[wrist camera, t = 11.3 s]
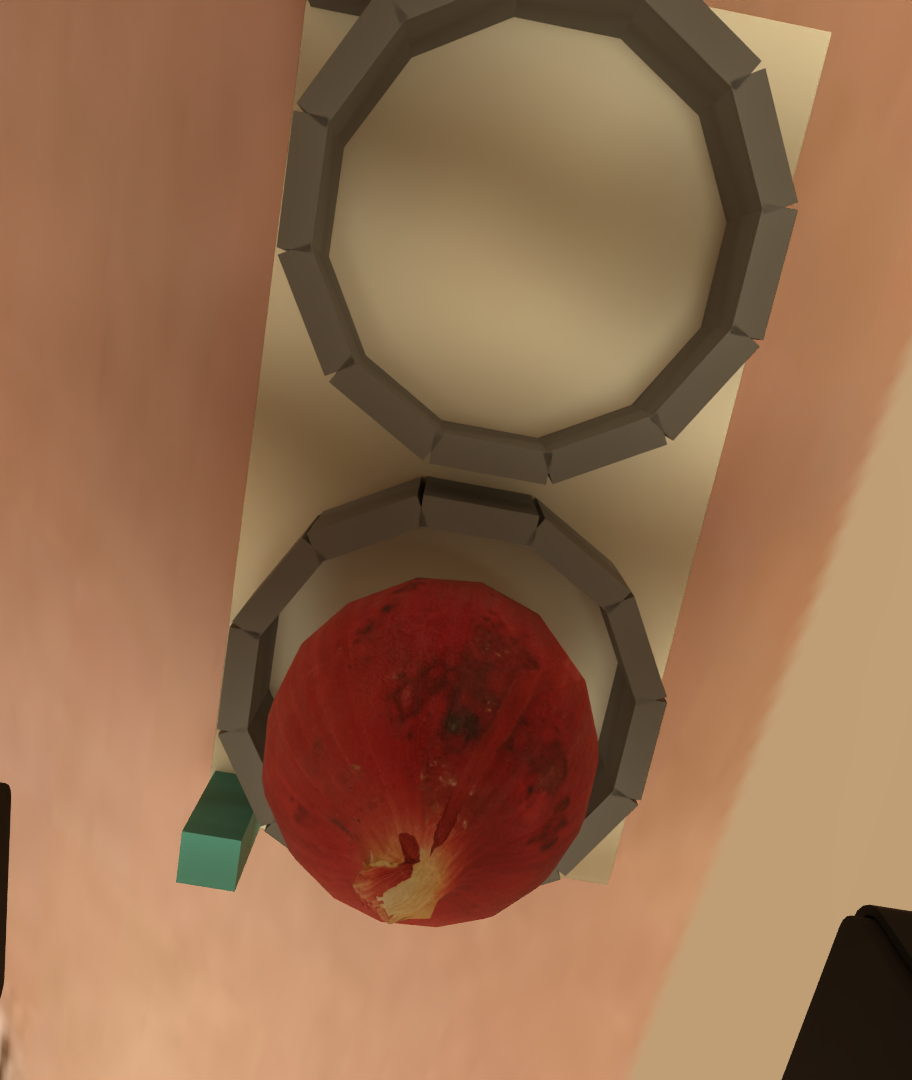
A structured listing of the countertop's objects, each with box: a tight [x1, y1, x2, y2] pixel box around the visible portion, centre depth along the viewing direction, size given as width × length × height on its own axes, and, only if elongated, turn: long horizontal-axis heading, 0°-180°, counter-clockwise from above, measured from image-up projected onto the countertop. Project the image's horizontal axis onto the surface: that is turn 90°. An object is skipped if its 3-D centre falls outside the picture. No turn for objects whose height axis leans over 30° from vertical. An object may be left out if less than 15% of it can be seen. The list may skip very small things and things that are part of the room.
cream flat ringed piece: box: [176, 0, 832, 891], centre depth 17 cm, size 18×10×4 cm, turn 170°
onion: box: [262, 577, 598, 927], centre depth 15 cm, size 6×6×8 cm
